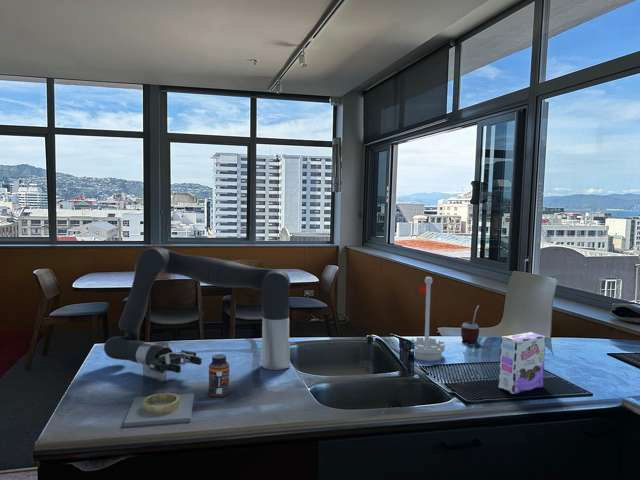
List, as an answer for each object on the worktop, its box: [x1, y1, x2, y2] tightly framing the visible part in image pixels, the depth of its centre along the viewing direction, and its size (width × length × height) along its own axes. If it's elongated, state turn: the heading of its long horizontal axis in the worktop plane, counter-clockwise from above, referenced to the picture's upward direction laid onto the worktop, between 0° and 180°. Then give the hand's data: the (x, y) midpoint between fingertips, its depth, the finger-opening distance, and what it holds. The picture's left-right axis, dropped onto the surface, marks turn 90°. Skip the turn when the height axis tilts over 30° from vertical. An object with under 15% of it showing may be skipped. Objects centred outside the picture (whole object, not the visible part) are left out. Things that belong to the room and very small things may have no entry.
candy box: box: [498, 331, 546, 395], centre depth 144 cm, size 14×6×16 cm, turn 117°
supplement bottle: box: [208, 353, 230, 398], centre depth 136 cm, size 6×6×11 cm
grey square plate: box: [123, 392, 195, 428], centre depth 125 cm, size 16×16×1 cm
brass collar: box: [143, 392, 180, 415], centre depth 125 cm, size 9×9×2 cm
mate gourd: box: [460, 304, 480, 345], centre depth 193 cm, size 8×8×15 cm
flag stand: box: [409, 276, 446, 362], centre depth 174 cm, size 13×13×30 cm
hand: (190, 365), depth 142 cm, fingers open, 8 cm apart
